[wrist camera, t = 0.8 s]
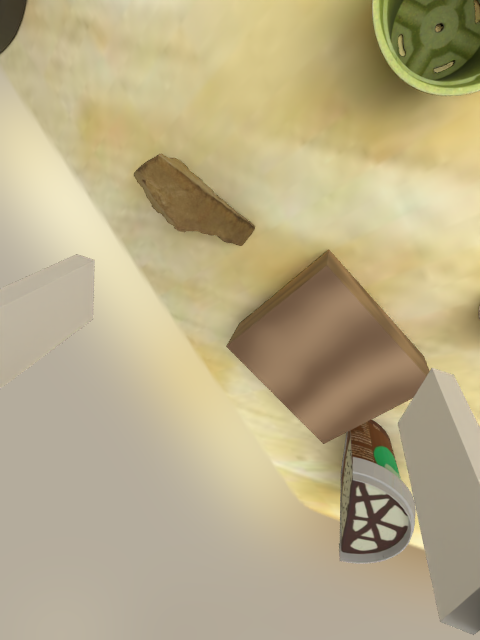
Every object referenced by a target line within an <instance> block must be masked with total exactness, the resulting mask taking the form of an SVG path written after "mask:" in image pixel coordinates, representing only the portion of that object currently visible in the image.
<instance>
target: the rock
mask: <svg viewBox="0 0 480 640" xmlns="http://www.w3.org/2000/svg"><path fill="white" fill-rule="evenodd" d="M134 177H135V178H136V180H137V182H138V183H139V184H140V185H141V186H142V187H143V189H144V191H145V193H146V196H147V198H148V199H149V200H150V202H151V203H152V207H153V208H154V209H155V210H156V211H157V212H158V213H161V214H162V215H163V216H164V217H165V218H166V220H167V222H168V223H170V224H171V225H173V226H174V228H175V229H177V230H178V231H181V232H185V231H199V232H201V233H204V234H208V235H217V236H218V237H219V238H221V239H222V240H223V241H225V242H228V243H234V244H236V245H239V246H242V245H243V244H244V243H245V241H246V240H247V239H248V237H249V236H250V235H251V234H252V232H253V231H254V229H255V226H254V225H253V224H252V223H251V222H250V221H248V220H247V219H246V218H244V217H243V216H242V215H240V214H239V213H237V212H236V211H235V210H234V209H233V208H232V207H230V206H229V205H228V204H227V203H226V202H224V201H223V200H222V199H221V198H219V197H218V196H217V195H216V194H215V193H214V192H213V190H211V189H210V188H209V187H208V186H207V185H206V184H204V183H203V181H202V180H201V179H200V178H198V177H197V176H196V175H194V173H192V172H190V171H189V169H188V168H187V166H186V165H185V164H184V163H182V162H181V161H179V160H178V159H176V158H168V157H166V156H164V155H163V154H159V155H157V156H156V157H154V158H152V159H150V160H149V161H147V162H145V163H144V164H143V165H142V166H141V167H140V168H138V169H137V170H136V172H135V173H134Z"/></svg>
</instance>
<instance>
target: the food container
mask: <svg viewBox="0 0 480 640" xmlns="http://www.w3.org/2000/svg"><path fill="white" fill-rule="evenodd" d="M414 525H415V502H414V499H413V496H412V494H411V492H410V491H409V489H408V487H407V486H406V485H405V484H404V483H403V482H402V480H401V479H400V475H399V471H398V468H397V464H396V460H395V457H394V453H393V450H392V446H391V442H390V439H389V437H388V435H387V433H386V432H385V430H384V429H383V428H382V427H381V426H380V425H379V424H377V423H376V422H374V421H373V420H369V421H367V422H365V423H363V424H361V425H359V426H358V427H356V428H354V429H352V430H350V431H348V432H347V433H346V440H345V447H344V454H343V462H342V469H341V497H340V543H339V556H340V561H343V562H348V563H375V562H380V561H384V560H386V559H389V558H392V557H394V556H395V555H397V554H399V553H400V552H401V551H402V550H404V549H405V547H406V546H407V545H408V543H409V541H410V539H411V536H412V533H413V531H414Z"/></svg>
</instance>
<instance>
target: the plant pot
mask: <svg viewBox="0 0 480 640" xmlns="http://www.w3.org/2000/svg"><path fill="white" fill-rule="evenodd" d="M477 1H478V2H479V4H480V0H477ZM474 5H475V3H474V0H372V16H373V25H374V31H375V36H376V39H377V42H378V45H379V47H380V50H381V52H382V54H383V56H384V58H385V60H386V62H387V63H388V65H389V66H390V68H391V69H392V70H393V71H394V73H395V74H396V75H397V76H398V77H399V78H401V79H402V80H403V81H404V82H405V83H407V84H408V85H410V86H411V87H413V88H415V89H417V90H419V91H422V92H425V93H429V94H433V95H440V96H459V95H465V94H470V93H474V92H478V91H480V22H479V23H477V24H476V23H475V7H474ZM440 23H442V24H443V26H444V28H443V30H442V31H441V32H436V31H435V27H436V25H437V24H440ZM400 34H402V35H403V45H404V50H405V52H406V55H405V57H403V56H401V55H400V54H399V47H398V37H399V35H400ZM453 60H454V61H455V62H454V65H453V66H451V67H450V68H448V69H446V70H444V71H442V72H438V73H436V72H434V68H437V67H440V66H443V65H445V64H447V63H449V62H451V61H453Z"/></svg>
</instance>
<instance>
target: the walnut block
mask: <svg viewBox="0 0 480 640" xmlns="http://www.w3.org/2000/svg"><path fill="white" fill-rule="evenodd" d="M226 347H227V348H228V349H229V350H230V351H231V352H232V353H233V354H234V355H235V356H236V357H237V358H238V359H239V360H240V361H241V362H242V363H243V364H244V365H245V366H246V367H247V368H248V369H249V370H250V371H251V372H252V373H253V374H254V375H255V376H256V377H257V378H258V379H259V380H260V381H261V382H262V383H263V384H264V385H265V386H266V387H267V388H268V389H269V390H270V391H271V392H272V393H273V394H274V395H275V396H276V397H277V398H278V399H279V400H280V401H281V402H282V403H283V404H284V405H285V406H286V407H287V408H288V409H289V410H290V411H291V412H292V413H293V414H294V415H295V416H296V417H297V418H298V419H299V420H300V421H301V422H302V423H303V424H304V425H305V426H306V427H307V428H308V429H309V430H310V431H311V432H312V433H313V434H314V435H315V436H316V437H317V438H318V439H319V440H320V441H321V442H322V443H323V444H324V443H326V442H328V441H330V440H332V439H334V438H336V437H338V436H340V435H342V434H344V433H346V432H348V431H350V430H352V429H354V428H356V427H358V426H359V425H361V424H363V423H365V422H367V421H369V420H371V419H373V418H375V417H377V416H379V415H381V414H383V413H385V412H387V411H389V410H391V409H393V408H394V407H396V406H398V405H400V404H402V403H404V402H406V401H408V400H410V399H412V398H413V397H414V396H415V394H416V393H417V391H418V389H419V388H420V386H421V385H422V383H423V381H424V380H425V378H426V377H427V375H428V373H429V372H430V371H429V368H428V366H427V363H426V361H425V358H424V356H423V355H422V354H421V353H420V351H419V350H418V349H417V348H416V347H415V346H414V345H413V344H412V342H411V341H410V340H409V339H408V338H407V337H406V336H405V335H404V333H403V332H402V331H401V330H400V329H399V328H398V327H397V326H396V324H395V323H394V322H393V321H392V320H391V319H390V318H389V317H388V315H387V314H386V313H385V312H384V311H383V310H382V309H381V308H380V306H379V305H378V304H377V303H376V302H375V301H374V300H373V299H372V297H371V296H370V295H369V294H368V293H367V292H366V291H365V290H364V288H363V287H362V286H361V285H360V284H359V283H358V282H357V281H356V279H355V278H354V277H353V276H352V275H351V274H350V273H349V272H348V270H347V269H346V268H345V267H344V266H343V265H342V264H341V263H340V261H339V260H338V259H337V258H336V257H335V256H334V255H333V254H332V252H331V251H330V250H328V251H327V252H325V253H324V254H323V255H322V256H321V257H319V258H318V259H317V260H316V261H315V262H313V263H312V264H311V265H310V266H308V267H307V268H306V269H305V270H304V271H302V272H301V273H300V274H299V275H298V276H296V277H295V278H294V279H293V280H292V281H290V282H289V283H288V284H287V285H286V286H284V287H283V288H282V289H281V290H279V291H278V292H277V293H276V294H275V295H273V296H272V297H271V298H270V299H269V300H267V301H266V302H265V303H264V304H263V305H261V306H260V307H259V308H258V309H257V310H255V311H254V312H253V313H252V314H250V315H249V316H248V317H247V318H246V319H244V320H243V321H242V322H241V323H240V324H239V325H238V327H237V329H236V330H235V332H234V334H233V336H232V337H231V339H230V341H229V343H228V344H227V346H226Z"/></svg>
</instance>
